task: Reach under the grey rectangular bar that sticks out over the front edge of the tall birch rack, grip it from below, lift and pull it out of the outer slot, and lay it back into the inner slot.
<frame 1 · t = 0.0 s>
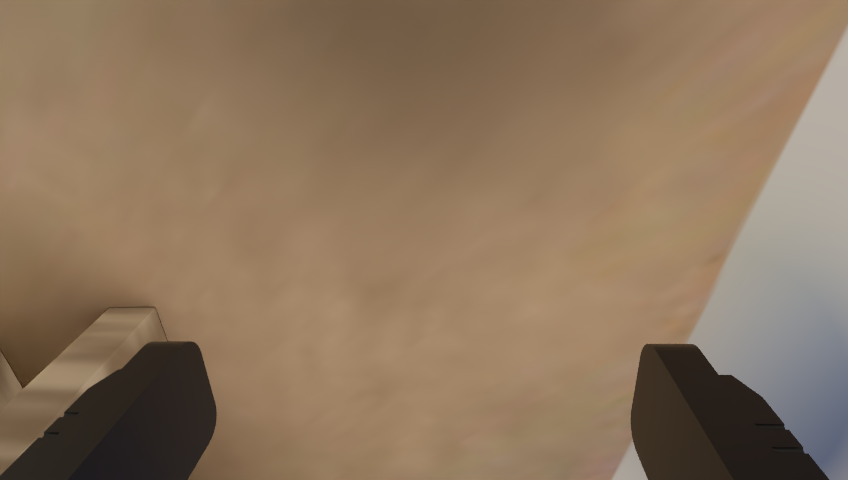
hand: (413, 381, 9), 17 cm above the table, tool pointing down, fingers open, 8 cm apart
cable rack: (109, 429, 36), on the table
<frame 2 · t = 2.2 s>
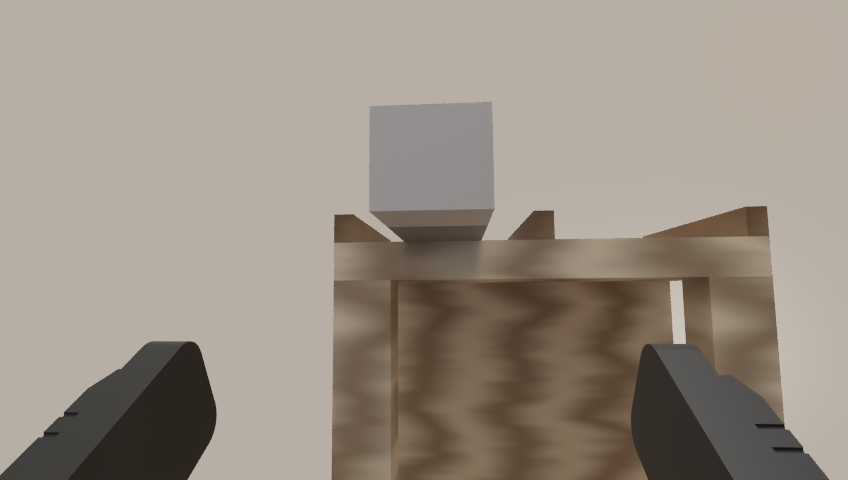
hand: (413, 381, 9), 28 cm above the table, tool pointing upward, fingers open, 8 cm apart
grey rectangular bar: (443, 244, 28), point 32 cm above the table, touching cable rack
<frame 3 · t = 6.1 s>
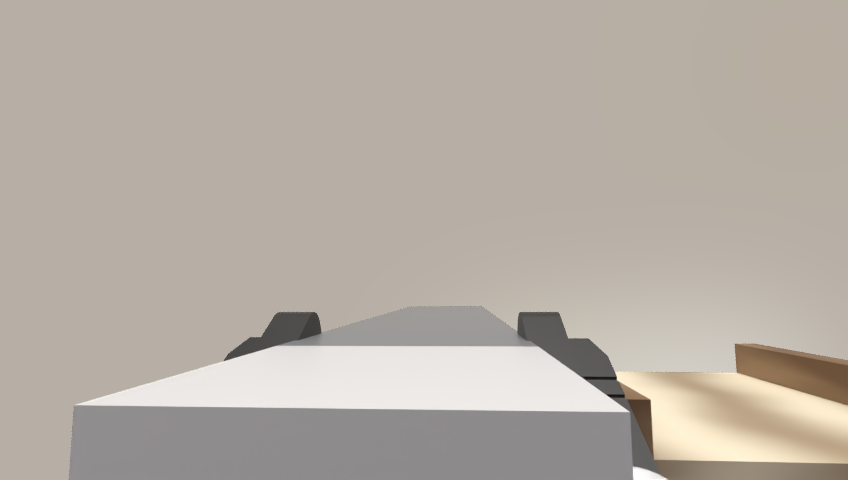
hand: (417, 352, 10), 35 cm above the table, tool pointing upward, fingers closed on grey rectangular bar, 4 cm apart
grey rectangular bar: (434, 433, 15), point 32 cm above the table, touching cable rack, gripper
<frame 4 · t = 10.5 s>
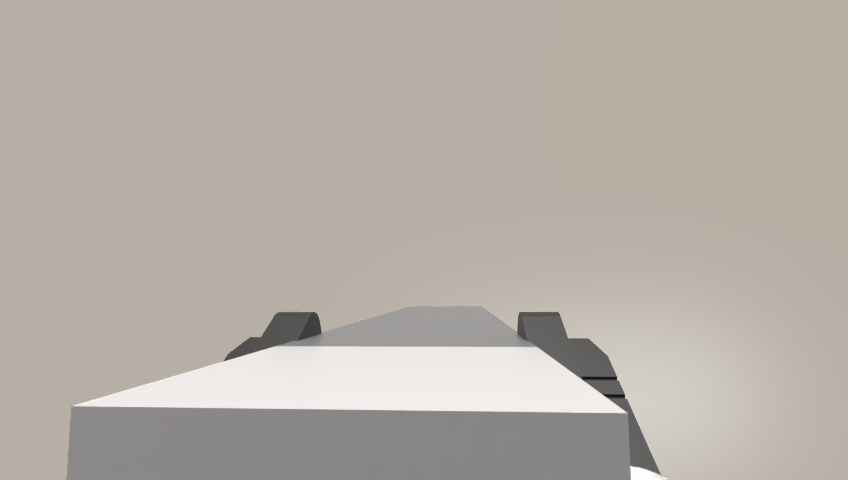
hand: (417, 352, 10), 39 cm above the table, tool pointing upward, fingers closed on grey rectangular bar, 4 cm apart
grey rectangular bar: (434, 433, 15), point 36 cm above the table, touching gripper
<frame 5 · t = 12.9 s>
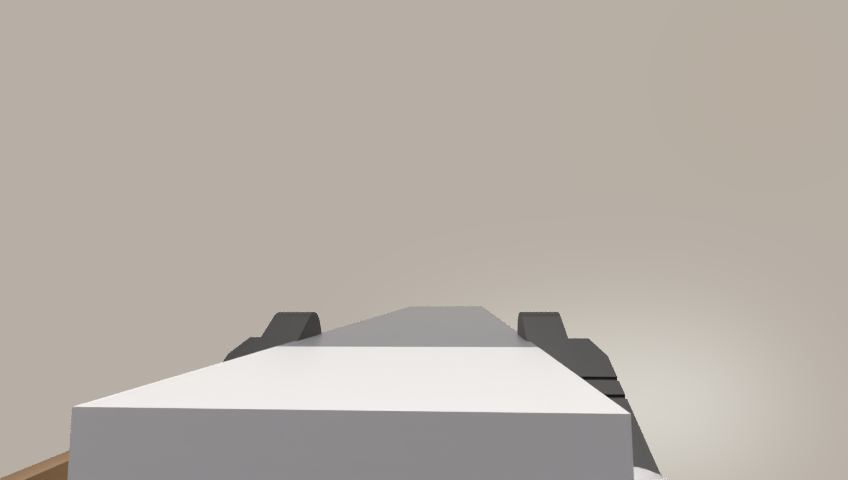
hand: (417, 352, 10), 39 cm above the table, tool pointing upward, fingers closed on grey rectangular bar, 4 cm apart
grey rectangular bar: (434, 433, 15), point 36 cm above the table, touching gripper
when the fingers open (36 cm above the table, at t = 14.9 s): grey rectangular bar stays where it is, resting on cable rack.
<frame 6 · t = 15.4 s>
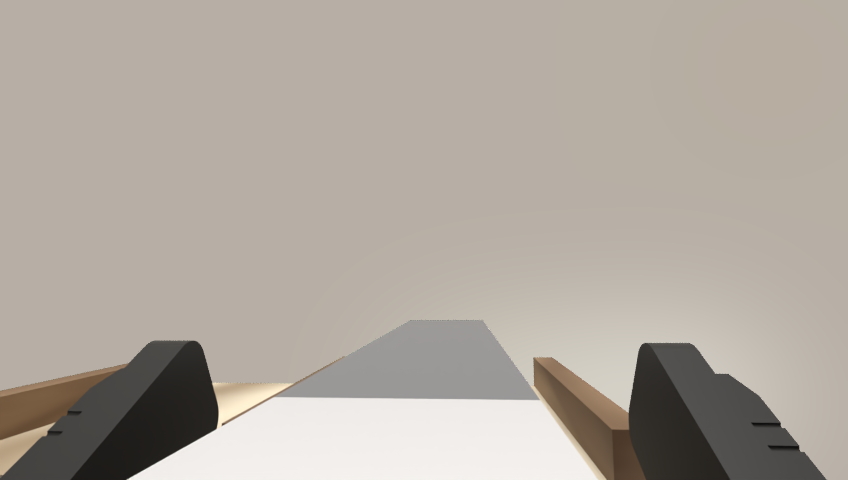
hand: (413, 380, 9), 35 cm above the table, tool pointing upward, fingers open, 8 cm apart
grey rectangular bar: (435, 460, 15), point 32 cm above the table, touching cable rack
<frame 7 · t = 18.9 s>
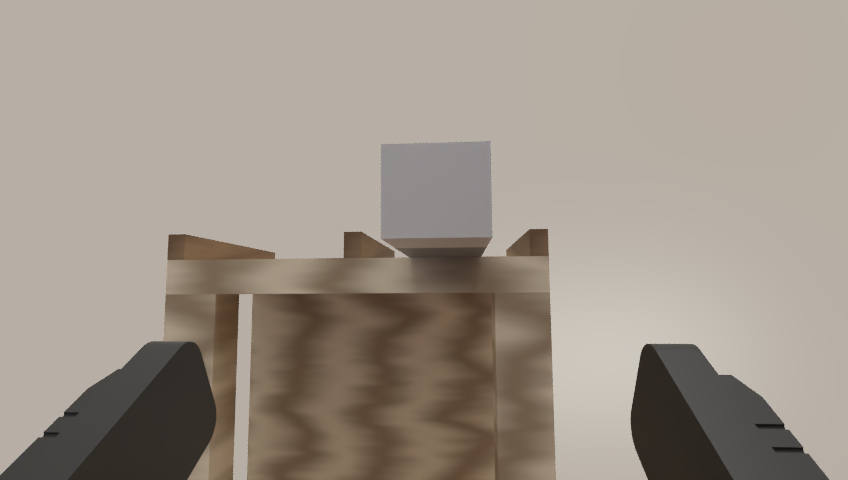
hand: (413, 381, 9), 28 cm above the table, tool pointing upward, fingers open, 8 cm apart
grey rectangular bar: (446, 259, 29), point 32 cm above the table, touching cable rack
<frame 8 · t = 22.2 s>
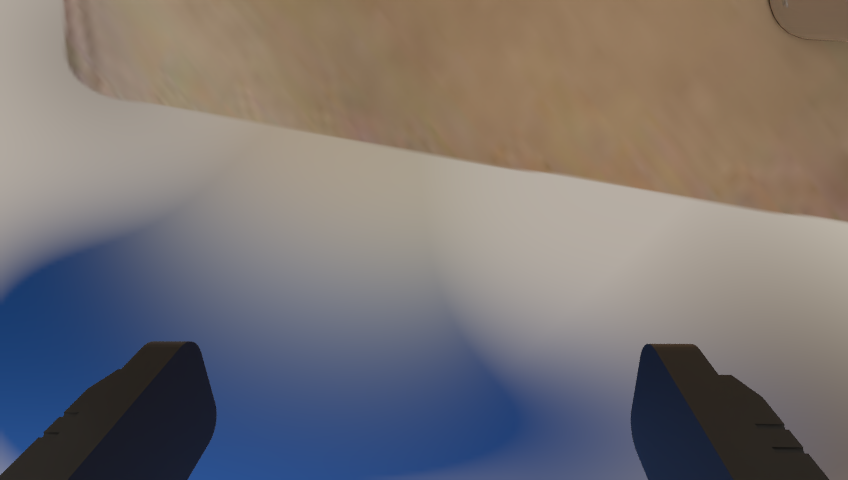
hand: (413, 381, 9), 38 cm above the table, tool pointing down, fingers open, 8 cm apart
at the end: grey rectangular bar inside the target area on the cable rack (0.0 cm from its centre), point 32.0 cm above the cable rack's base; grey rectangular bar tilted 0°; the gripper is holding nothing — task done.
